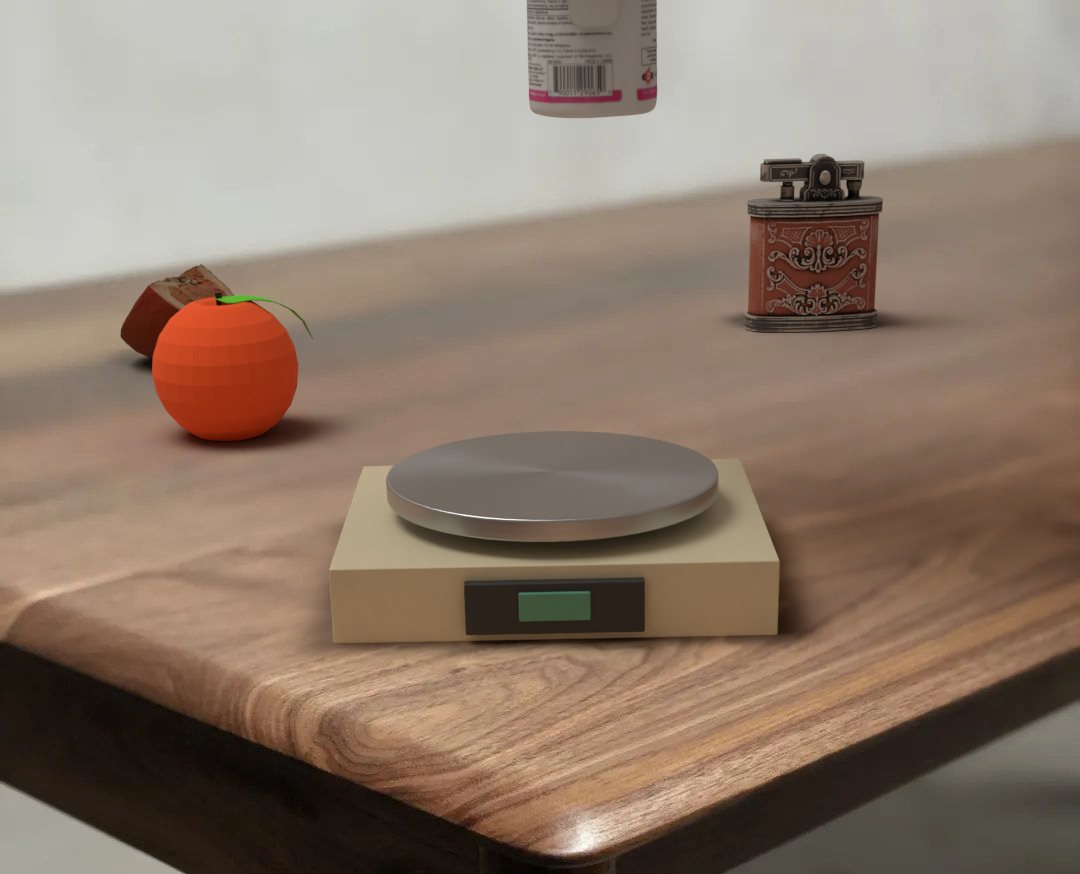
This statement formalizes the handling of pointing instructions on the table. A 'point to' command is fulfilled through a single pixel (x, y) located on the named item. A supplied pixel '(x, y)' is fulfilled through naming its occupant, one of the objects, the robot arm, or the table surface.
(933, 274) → the table surface
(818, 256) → the lighter
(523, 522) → the pan
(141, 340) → the brown block
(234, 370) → the clementine
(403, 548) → the scale
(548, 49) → the pill bottle
